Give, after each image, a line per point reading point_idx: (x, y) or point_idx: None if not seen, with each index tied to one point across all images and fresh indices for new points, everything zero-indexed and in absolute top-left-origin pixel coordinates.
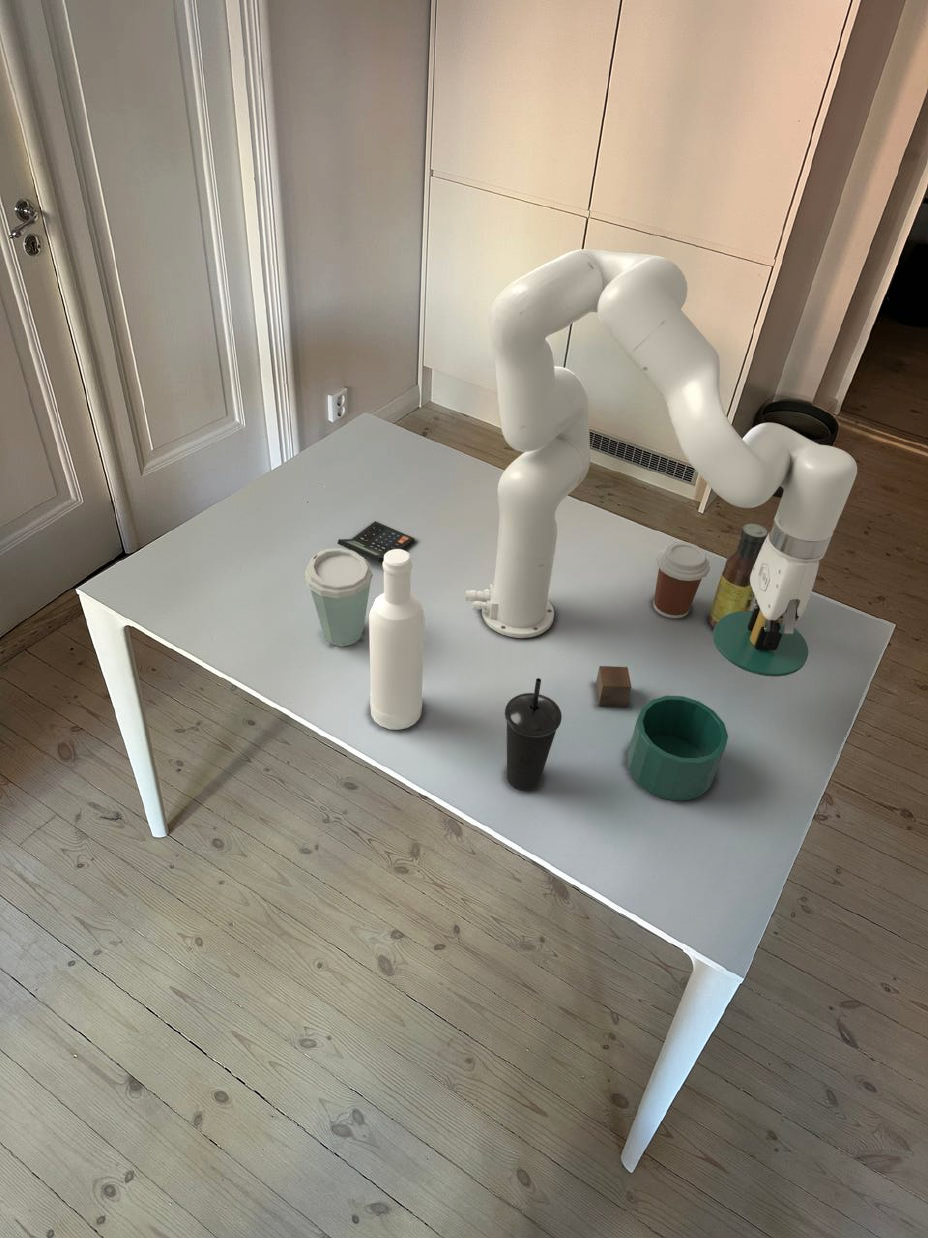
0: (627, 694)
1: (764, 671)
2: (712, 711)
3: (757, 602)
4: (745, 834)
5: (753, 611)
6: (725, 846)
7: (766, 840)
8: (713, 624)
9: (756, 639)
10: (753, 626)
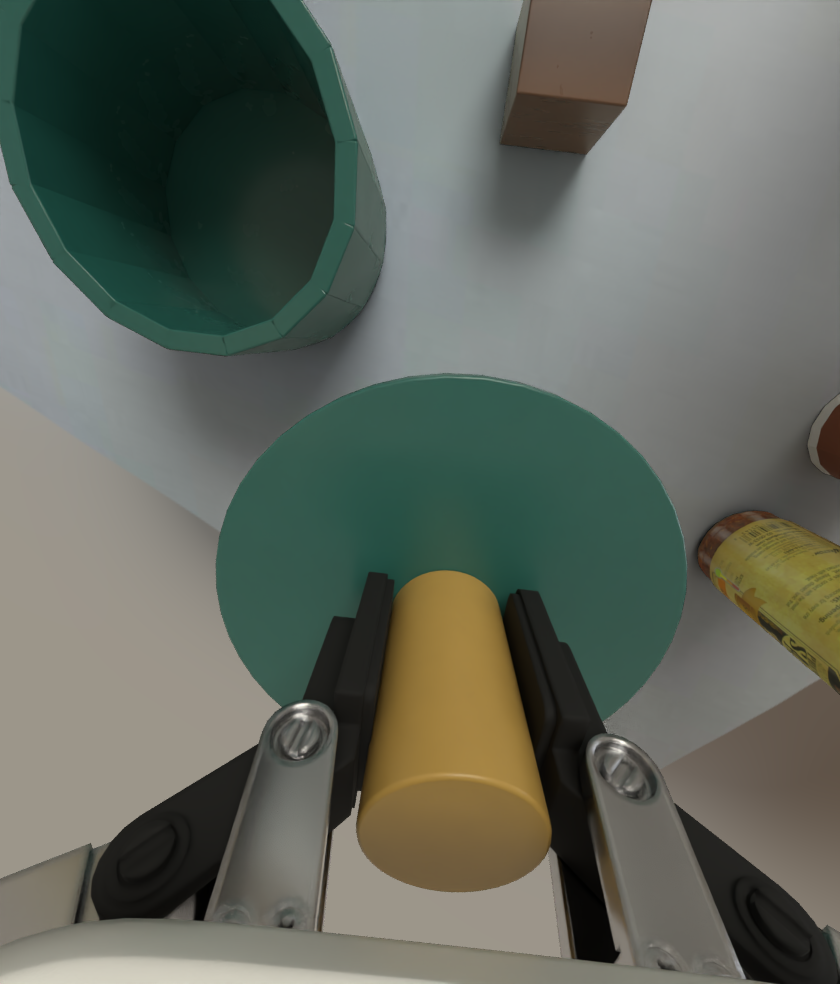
0: (510, 103)
1: (224, 555)
2: (277, 330)
3: (615, 794)
4: (96, 361)
5: (571, 695)
6: (51, 301)
7: (91, 403)
8: (744, 515)
9: (381, 603)
10: (513, 625)
